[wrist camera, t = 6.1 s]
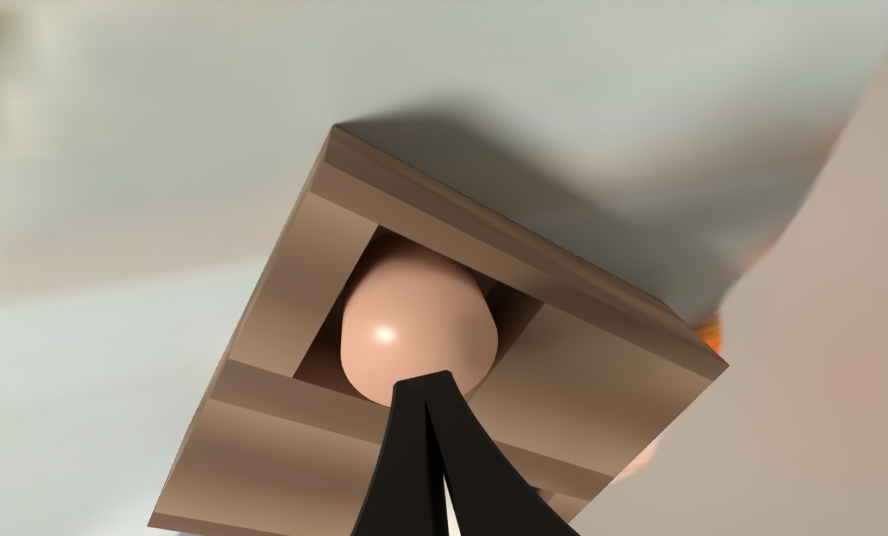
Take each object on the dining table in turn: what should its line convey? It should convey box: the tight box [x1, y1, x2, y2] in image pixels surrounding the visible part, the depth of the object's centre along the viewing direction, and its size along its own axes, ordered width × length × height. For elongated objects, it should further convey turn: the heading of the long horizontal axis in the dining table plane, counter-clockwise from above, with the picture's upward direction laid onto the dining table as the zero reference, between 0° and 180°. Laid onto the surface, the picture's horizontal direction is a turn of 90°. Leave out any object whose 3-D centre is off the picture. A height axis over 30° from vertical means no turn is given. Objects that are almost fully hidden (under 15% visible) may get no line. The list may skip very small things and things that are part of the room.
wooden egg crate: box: [147, 125, 729, 536], centre depth 17 cm, size 14×15×4 cm
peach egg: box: [341, 232, 498, 407], centre depth 14 cm, size 4×4×3 cm
